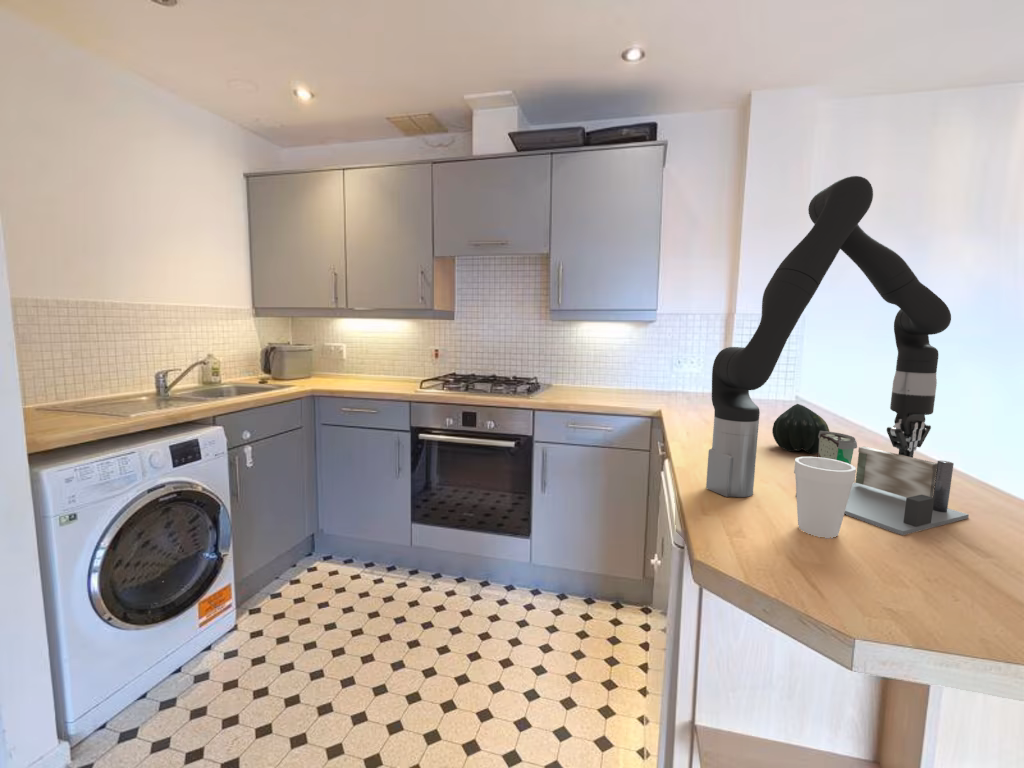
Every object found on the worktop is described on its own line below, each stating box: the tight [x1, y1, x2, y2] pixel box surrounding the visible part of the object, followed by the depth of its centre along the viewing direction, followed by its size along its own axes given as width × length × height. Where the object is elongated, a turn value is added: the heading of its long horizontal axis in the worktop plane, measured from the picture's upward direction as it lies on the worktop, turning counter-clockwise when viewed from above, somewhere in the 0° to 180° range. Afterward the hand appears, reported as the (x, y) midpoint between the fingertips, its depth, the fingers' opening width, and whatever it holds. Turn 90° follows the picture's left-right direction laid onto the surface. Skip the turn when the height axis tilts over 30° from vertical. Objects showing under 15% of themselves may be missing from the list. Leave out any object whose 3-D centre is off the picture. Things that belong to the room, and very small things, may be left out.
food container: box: [817, 431, 858, 465], centre depth 123 cm, size 12×6×10 cm, turn 168°
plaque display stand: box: [844, 460, 970, 536], centre depth 100 cm, size 22×21×11 cm
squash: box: [771, 403, 831, 455], centre depth 146 cm, size 14×15×15 cm
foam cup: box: [793, 456, 857, 539], centre depth 87 cm, size 10×9×13 cm
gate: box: [855, 446, 938, 498], centre depth 104 cm, size 14×2×9 cm, turn 22°
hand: (904, 465), depth 108 cm, fingers closed
